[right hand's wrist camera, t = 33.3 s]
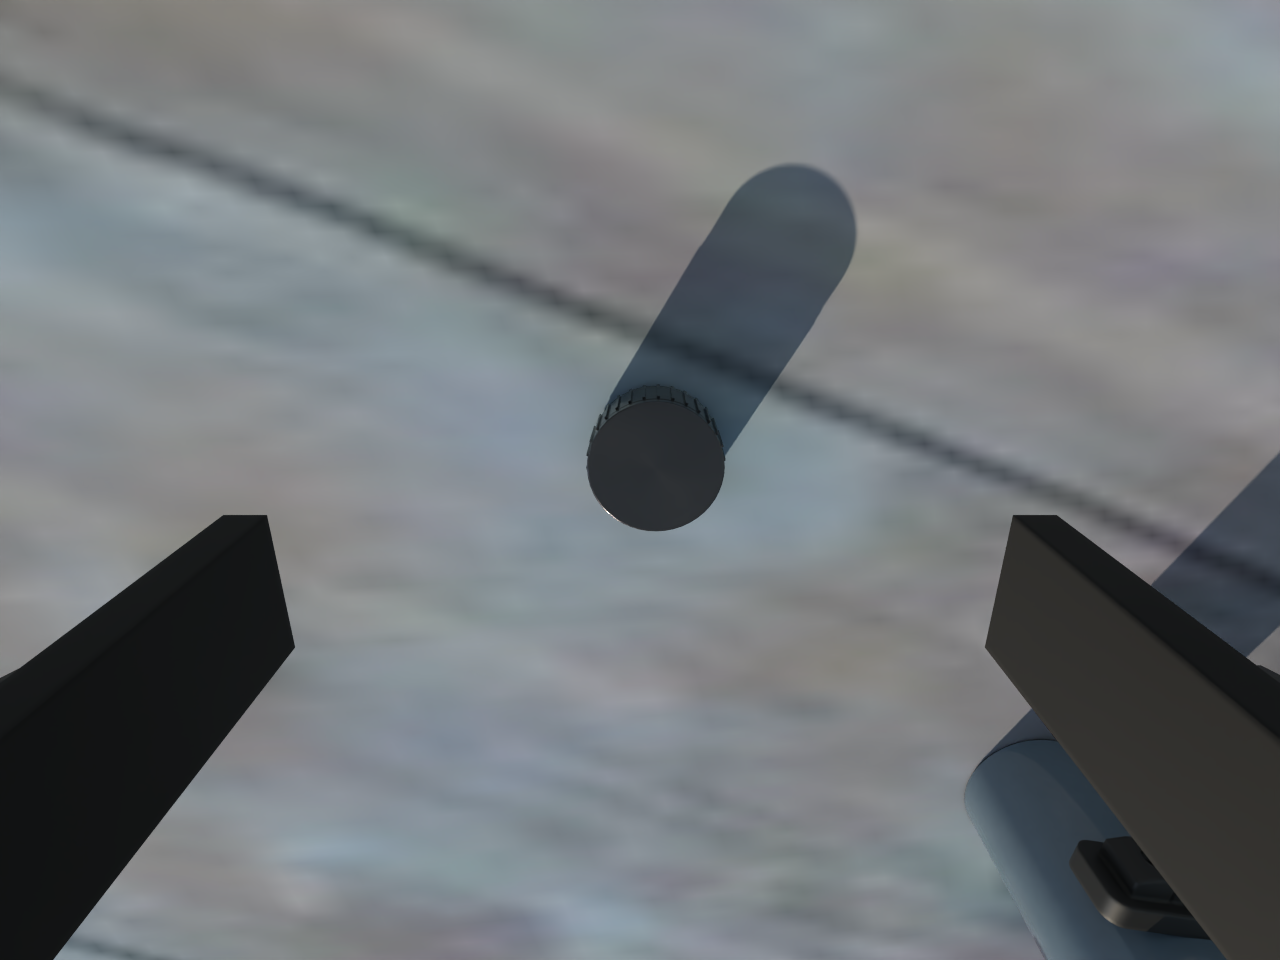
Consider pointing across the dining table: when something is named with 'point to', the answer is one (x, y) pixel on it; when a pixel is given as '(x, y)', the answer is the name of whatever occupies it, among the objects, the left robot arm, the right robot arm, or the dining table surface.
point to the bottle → (1057, 854)
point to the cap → (655, 459)
